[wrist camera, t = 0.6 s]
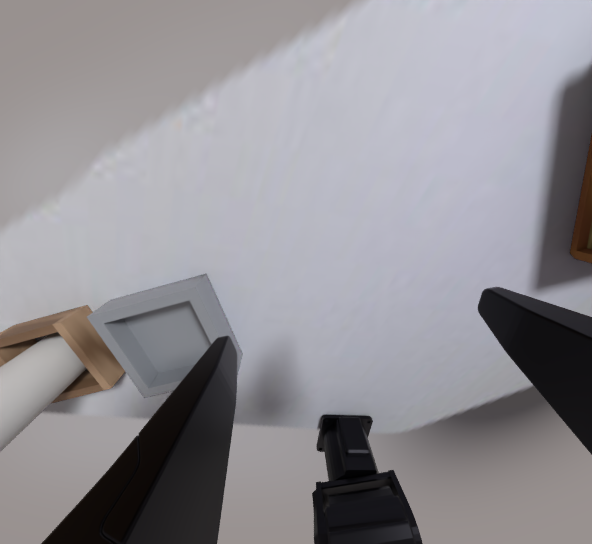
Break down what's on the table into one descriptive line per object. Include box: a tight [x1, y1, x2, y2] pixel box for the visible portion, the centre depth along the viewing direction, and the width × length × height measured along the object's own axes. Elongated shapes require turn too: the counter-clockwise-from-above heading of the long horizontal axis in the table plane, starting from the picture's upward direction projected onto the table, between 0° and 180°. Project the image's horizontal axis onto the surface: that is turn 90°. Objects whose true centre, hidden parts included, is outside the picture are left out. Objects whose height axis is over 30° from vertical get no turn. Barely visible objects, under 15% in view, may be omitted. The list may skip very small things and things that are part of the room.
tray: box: [87, 274, 242, 398], centre depth 23 cm, size 10×10×3 cm
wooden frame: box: [0, 305, 125, 404], centre depth 24 cm, size 8×8×3 cm
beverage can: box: [0, 332, 87, 452], centre depth 19 cm, size 5×5×12 cm
